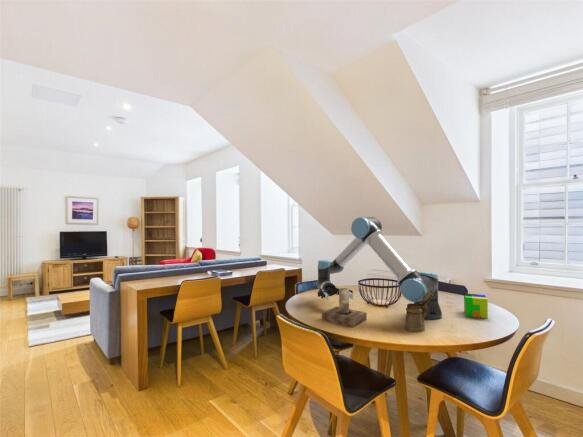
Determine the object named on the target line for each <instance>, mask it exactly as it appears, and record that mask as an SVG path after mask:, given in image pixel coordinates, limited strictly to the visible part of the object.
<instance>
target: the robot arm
mask: <svg viewBox="0 0 583 437" xmlns="http://www.w3.org/2000/svg"><path fill="white" fill-rule="evenodd" d="M350 229H351V230H350V231H351V233H352V235H353V236H354V237H355V238H354V239H353V240H352V241H351V242H350V243H349V244H347V246H346V247H345V248H344V249H343V250H342V251H341V252H340V253H339V254H338V255H337V257H336V258H335V259H334V260H332V261H330V260H328V259H320V260H318V262H317V280H316V283H315V284H316V287H317V289H318V291H317V297H318V298H320V297H321V299H325V300H327V301H329V297H333V296H334V295H336V296H339V288H337V287H336V285H335V284H333V283H332V281H331V275H334V274H338V273H341V272H343V271H344V268H345V267H346V265H347V264H348V263H350V261H351V260H352V259H354V257H356V256H357V255H358V254H359V252H361V250H363V248H364V247H365V246H367V245H368V246H369V247H371V249H372V250H373V251H374V253H375V254H376V255H377V256H378V258H379V259H380V260H381V261H382V262H383V263H384V265H385V266H386V267H387V268H388V269H389V271H390V272H391V273H392V274H393V275H394V277H395V278H396V279H397V285H398V286H399V287H400V293H401V294H402V297H404V298H405V299H406V300H407V301H409V302H411V303H413V304H418V305H419V303H422V300H423V297H424V295H425V294H426V293H427V292H429V291H433V296H432V298H431V299H430V301H428V302H427V303H426V304H427V306H428V313H427V315H426V317H425V319H424V320H439V319H442V318H443V311H442V308H441V306H440V302H439V276H438V274H437V273H434V272H427V271H425V272H424V271H417V270H416V269H413V268H410V266H409V265H408V264H407V263H406V262H405V260H404V259H403V258H402V257H401V256H400V255H399V254H398V253H397V252H396V250H395V249H394V248H393V247H392V246H391V244H390V243H389V242H388V241H387V240H386V239H385V238H384V236H383V235H382V229H383V225H382V222H381V221H380V219H378V218H376V217H372V216H359V217H357V218H355V219H354V220H353V221H352V223H351V228H350ZM349 299H351V300H353V299H354V290H351V289H349ZM421 309H422V314H423V313H424V309H423V308H421Z"/></svg>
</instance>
